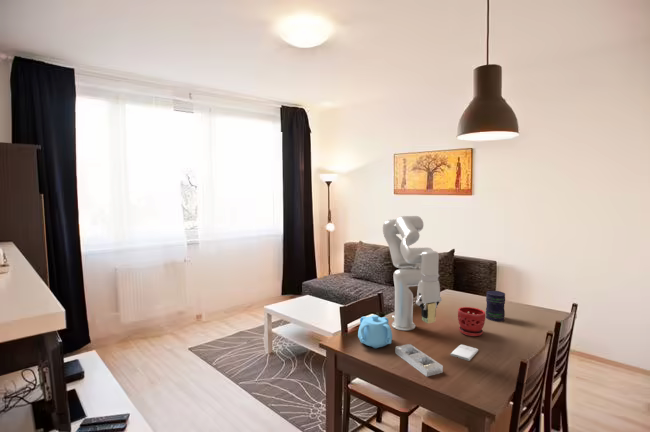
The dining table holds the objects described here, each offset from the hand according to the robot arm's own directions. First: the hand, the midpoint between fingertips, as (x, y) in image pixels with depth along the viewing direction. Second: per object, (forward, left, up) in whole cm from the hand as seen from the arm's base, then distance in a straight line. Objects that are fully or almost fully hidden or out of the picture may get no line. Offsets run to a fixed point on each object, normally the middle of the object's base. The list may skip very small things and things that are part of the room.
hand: (428, 316), depth 165 cm
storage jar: (-17, +61, -16) cm, 65 cm away
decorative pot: (-16, -19, -16) cm, 30 cm away
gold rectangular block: (0, 0, -2) cm, 2 cm away
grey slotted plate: (+8, -12, -16) cm, 22 cm away
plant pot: (-7, +33, -16) cm, 37 cm away
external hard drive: (+9, +13, -17) cm, 23 cm away
